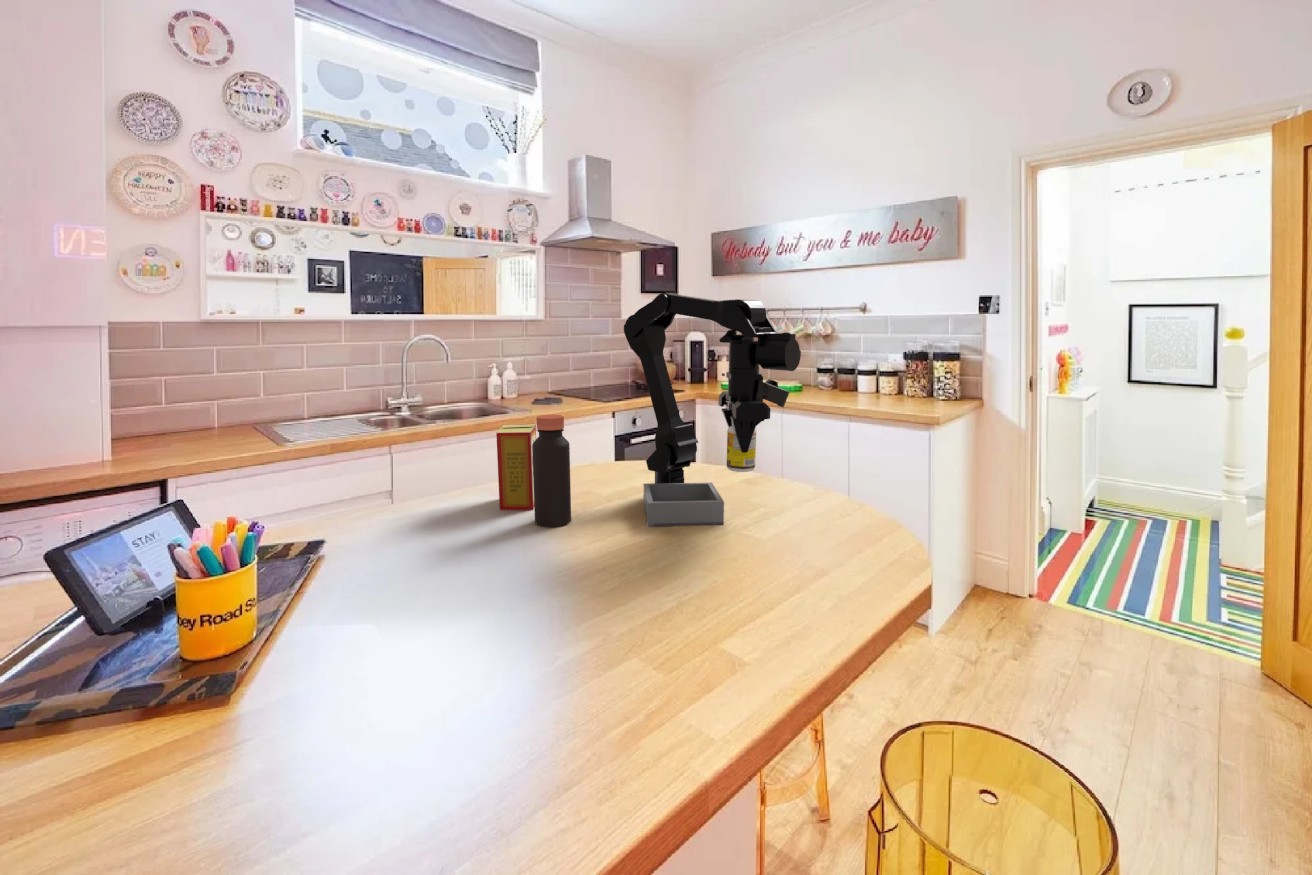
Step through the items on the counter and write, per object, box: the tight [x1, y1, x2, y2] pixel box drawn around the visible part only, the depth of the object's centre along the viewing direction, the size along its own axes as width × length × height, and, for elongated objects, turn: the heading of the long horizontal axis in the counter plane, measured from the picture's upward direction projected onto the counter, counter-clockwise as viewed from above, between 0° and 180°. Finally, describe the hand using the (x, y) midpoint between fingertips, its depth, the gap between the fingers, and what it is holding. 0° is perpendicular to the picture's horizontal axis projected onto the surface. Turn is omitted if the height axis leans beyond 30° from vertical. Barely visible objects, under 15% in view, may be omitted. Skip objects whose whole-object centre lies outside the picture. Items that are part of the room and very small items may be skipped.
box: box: [643, 482, 725, 528], centre depth 126 cm, size 14×14×4 cm
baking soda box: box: [495, 423, 537, 511], centre depth 133 cm, size 10×6×16 cm
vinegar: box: [532, 414, 572, 528], centre depth 120 cm, size 7×7×20 cm
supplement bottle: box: [726, 424, 758, 473], centre depth 125 cm, size 6×6×10 cm
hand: (741, 449), depth 126 cm, fingers closed on supplement bottle, 6 cm apart
